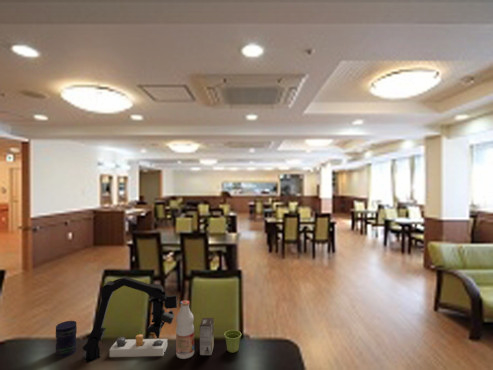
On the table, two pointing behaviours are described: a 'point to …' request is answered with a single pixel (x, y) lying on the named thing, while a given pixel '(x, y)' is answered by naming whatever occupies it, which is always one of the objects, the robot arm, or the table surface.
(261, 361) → the table surface
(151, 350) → the console
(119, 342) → the knob
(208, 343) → the coffee box
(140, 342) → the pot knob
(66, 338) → the storage jar
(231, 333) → the plant pot
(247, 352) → the table surface
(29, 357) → the table surface
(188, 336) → the fruit juice
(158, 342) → the knob
